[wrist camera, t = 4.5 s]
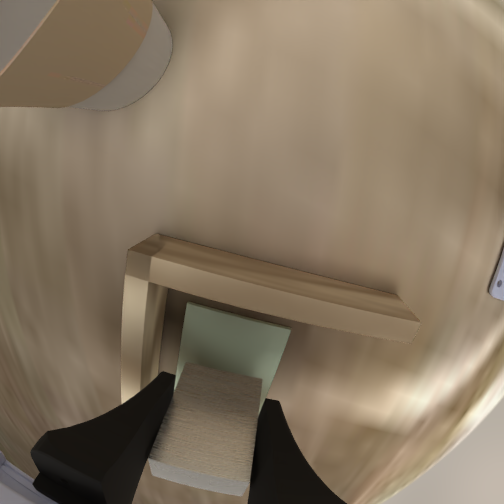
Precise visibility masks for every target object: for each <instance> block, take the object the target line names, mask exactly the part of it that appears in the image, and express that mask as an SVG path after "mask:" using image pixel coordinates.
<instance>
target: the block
mask: <svg viewBox="0 0 504 504" xmlns="http://www.w3.org/2000/svg"><path fill="white" fill-rule="evenodd" d="M262 380H263V379H261V378H256V377H251V376H246V375H241V374H236V373H231V372H227V371H222V370H218V369H213V368H209V367H205V366H201V365H197V364H193V363H189V362H186V363H185V366H184V368H183V371H182V373H181V376H180V378H179V381H178V383H177V386H176V388H175V391H174V394H173V397H172V400H171V402H170V405H169V408H168V410H167V412H166V414H165V416H164V419H163V421H162V424H161V426H160V429H159V431H158V434H157V437H156V439H155V442H154V444H153V447H152V450H151V452H150V455H149V458H148V460H149V464H150V468H151V472H152V475H153V476H156V477H159V478H163V479H166V480H169V481H173V482H177V483H180V484H184V485H188V486H192V487H196V488H200V489H205V490H209V491H214V492H219V493H224V494H230V495H236V496H242V495H243V493H244V492H245V490H246V488H247V486H248V485H249V483H250V477H251V469H252V462H253V454H254V446H255V439H256V431H257V423H258V415H259V406H260V398H261V389H262Z"/></svg>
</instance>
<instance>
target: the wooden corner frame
mask: <svg viewBox="0 0 504 504" xmlns="http://www.w3.org/2000/svg"><path fill="white" fill-rule="evenodd" d="M168 288H171V289H175V290H178V291H182V292H185V293H189V294H192V295H196V296H200V297H203V298H207V299H210V300H214V301H218V302H222V303H225V304H229V305H233V306H237V307H241V308H245V309H248V310H252V311H256V312H260V313H265V314H269V315H273V316H277V317H281V318H285V319H290V320H294V321H298V322H303V323H307V324H312V325H316V326H321V327H325V328H330V329H335V330H340V331H345V332H349V333H354V334H359V335H365V336H370V337H375V338H380V339H386V340H391V341H397V342H403V343H409V344H412V342H413V340H414V338H415V336H416V334H417V332H418V330H419V328H420V326H421V322H420V320H419V319H418V318H417V317H416V316H415V315H414V313H413V312H412V311H411V310H410V309H409V308H408V307H407V305H406V304H405V303H404V302H403V301H402V300H401V299H400V298H399V297H398V295H395V294H391V293H387V292H383V291H379V290H375V289H371V288H367V287H363V286H359V285H355V284H351V283H347V282H343V281H339V280H335V279H331V278H327V277H323V276H319V275H315V274H311V273H307V272H303V271H299V270H295V269H291V268H287V267H284V266H280V265H276V264H272V263H268V262H264V261H260V260H256V259H252V258H248V257H245V256H241V255H237V254H233V253H229V252H225V251H221V250H217V249H214V248H210V247H206V246H202V245H198V244H194V243H190V242H187V241H183V240H179V239H175V238H171V237H168V236H164V235H160V234H154V235H153V236H151V237H149V238H147V239H146V240H144V241H142V242H140V243H138V244H137V245H135V246H133V247H131V248H130V249H128V252H127V261H126V271H125V282H124V295H123V311H122V333H121V397H122V404H123V403H124V402H126V401H127V400H129V399H130V398H132V397H133V396H134V395H136V394H137V393H138V392H139V391H141V390H142V389H143V388H144V387H146V386H147V385H148V384H149V383H150V382H151V381H153V380H154V379H155V378H156V377H157V376H158V368H159V358H160V349H161V340H162V331H163V323H164V315H165V308H166V300H167V293H168ZM290 332H291V327H286V326H282V325H278V324H274V323H269V322H265V321H261V320H257V319H253V318H249V317H245V316H241V315H237V314H233V313H230V312H226V311H222V310H218V309H215V308H211V307H207V306H204V305H200V304H196V303H193V302H189V301H188V303H187V307H186V313H185V319H184V325H183V331H182V337H181V344H180V350H179V357H178V364H177V371H176V379H175V386H174V391H175V388H176V386H177V383H178V381H179V378H180V376H181V373H182V371H183V368H184V366H185V363H186V362H189V363H193V364H197V365H201V366H205V367H209V368H213V369H218V370H222V371H227V372H231V373H236V374H241V375H246V376H251V377H256V378H261V379H263V380H262V389H261V398H260V406H259V413H260V411H261V408H262V406H263V403H264V401H265V398H266V396H267V394H268V391H269V389H270V386H271V384H272V381H273V378H274V376H275V373H276V370H277V368H278V365H279V362H280V360H281V357H282V354H283V352H284V349H285V346H286V343H287V340H288V338H289V335H290ZM258 416H259V415H258Z"/></svg>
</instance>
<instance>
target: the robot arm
mask: <svg viewBox="0 0 504 504" xmlns="http://www.w3.org/2000/svg"><path fill="white" fill-rule="evenodd" d="M498 281H499V283H498ZM497 283H498V284H497ZM489 294H490V295H491V296H492V297H494V298H497V299H500V300H504V249H503V252H502V255H501V258H500V261H499V264H498V267H497V270H496V273H495V275H494V278H493V281H492V283H491V286H490V289H489ZM175 379H176V375H173V374H170V373H167V372H164V371H163V372H161V373H160V374H159V375H158V376H157V377H156V378H155V379H154V380H153V381H151V382H150V383H149V384H148V385H147V386H146V387H144V388H143V389H142V390H141V391H139V392H138V393H137V394H136V395H134V396H133V397H132V398H130V399H129V400H127V401H126V402H124V403H123V404H121V405H120V406H118V407H116V408H114V409H113V410H111V411H109V412H107V413H105V414H103V415H101V416H99V417H96V418H94V419H92V420H89V421H87V422H84V423H80V424H77V425H74V426H71V427H67V428H62V429H57V430H52V431H47V432H46V433H45V434H44V435H43V436H42V437H41V438H40V439H39V440H38V442H37V443H36V444H35V446H34V447H33V448H32V450H31V456H32V459H33V461H34V463H35V465H36V466H37V468H38V470H39V472H40V473H39V474H38V476H37V477H36V479H35V480H34V479H33V478H31V477H30V476H28V475H27V474H25V473H24V472H22V471H21V470H19V469H18V468H17V467H15V466H14V465H12V464H11V463H10V462H8V461H7V460H6V458H5V456H4V455H3V453H2V452H1V451H0V504H132V501H133V498H134V495H135V492H136V489H137V486H138V483H139V480H140V477H141V474H142V472H143V469H144V466H145V463H146V461H147V459H148V457H149V455H150V452H151V450H152V447H153V444H154V442H155V439H156V437H157V434H158V431H159V429H160V426H161V424H162V421H163V419H164V416H165V414H166V412H167V410H168V408H169V405H170V402H171V400H172V397H173V394H174V386H175ZM248 504H347V503H345V502H344V501H343V500H341V499H340V498H339V497H338V496H337V495H335V494H334V493H333V492H332V491H331V490H330V489H329V488H328V487H327V486H326V485H325V484H324V482H323V481H322V480H321V479H320V478H319V477H318V476H317V474H316V473H315V472H314V470H313V469H312V468H311V466H310V465H309V464H308V462H307V461H306V459H305V458H304V456H303V454H302V453H301V451H300V449H299V447H298V445H297V444H296V442H295V440H294V438H293V435H292V433H291V431H290V429H289V426H288V424H287V421H286V419H285V416H284V413H283V411H282V407H281V404H280V402H279V401H277V400H272V399H267V398H265V401H264V403H263V406H262V408H261V411H260V413H259V416H258V423H257V431H256V439H255V446H254V454H253V462H252V469H251V477H250V491H249V497H248Z"/></svg>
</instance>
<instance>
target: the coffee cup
mask: <svg viewBox="0 0 504 504" xmlns="http://www.w3.org/2000/svg"><path fill="white" fill-rule="evenodd" d="M171 53H172V36H171V33H170V30H169V28H168V27H167V25H166V23H165V22H164V20H163V18H162V17H161V15H160V13H159V12H158V10H157V8H156V7H155V5H154V4H153V2H152V0H0V107H47V108H62V107H73V108H83V109H91V110H99V111H111V110H116V109H120V108H123V107H126V106H128V105H130V104H132V103H134V102H135V101H137V100H139V99H140V98H141V97H143V96H144V95H145V94H146V93H147V92H149V91H150V90H151V89H152V88H153V87H154V85H155V84H156V83H157V82H158V81H159V79H160V78H161V76H162V75H163V73H164V72H165V70H166V68H167V66H168V63H169V60H170V57H171Z"/></svg>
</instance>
